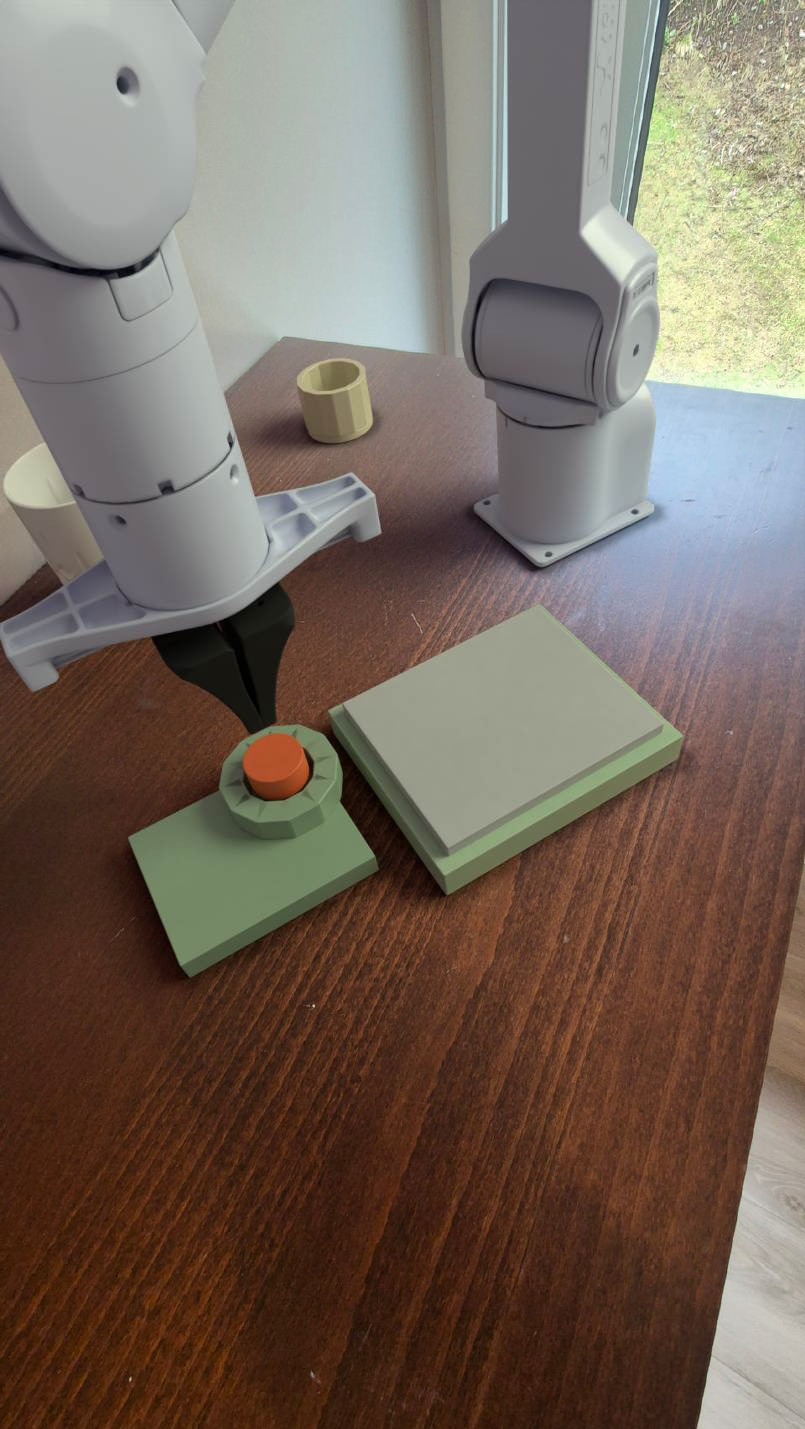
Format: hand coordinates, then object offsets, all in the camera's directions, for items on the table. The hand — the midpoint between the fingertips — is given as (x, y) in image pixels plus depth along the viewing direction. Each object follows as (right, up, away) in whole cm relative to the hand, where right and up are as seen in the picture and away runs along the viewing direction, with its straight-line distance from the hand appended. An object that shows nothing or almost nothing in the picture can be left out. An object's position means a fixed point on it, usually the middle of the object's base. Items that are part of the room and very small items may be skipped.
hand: (255, 714), depth 37 cm
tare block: (-1, -7, +4) cm, 8 cm away
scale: (+12, -2, +6) cm, 14 cm away
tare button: (+1, -3, +4) cm, 5 cm away
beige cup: (+2, +24, +29) cm, 37 cm away
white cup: (-12, +8, +18) cm, 23 cm away
